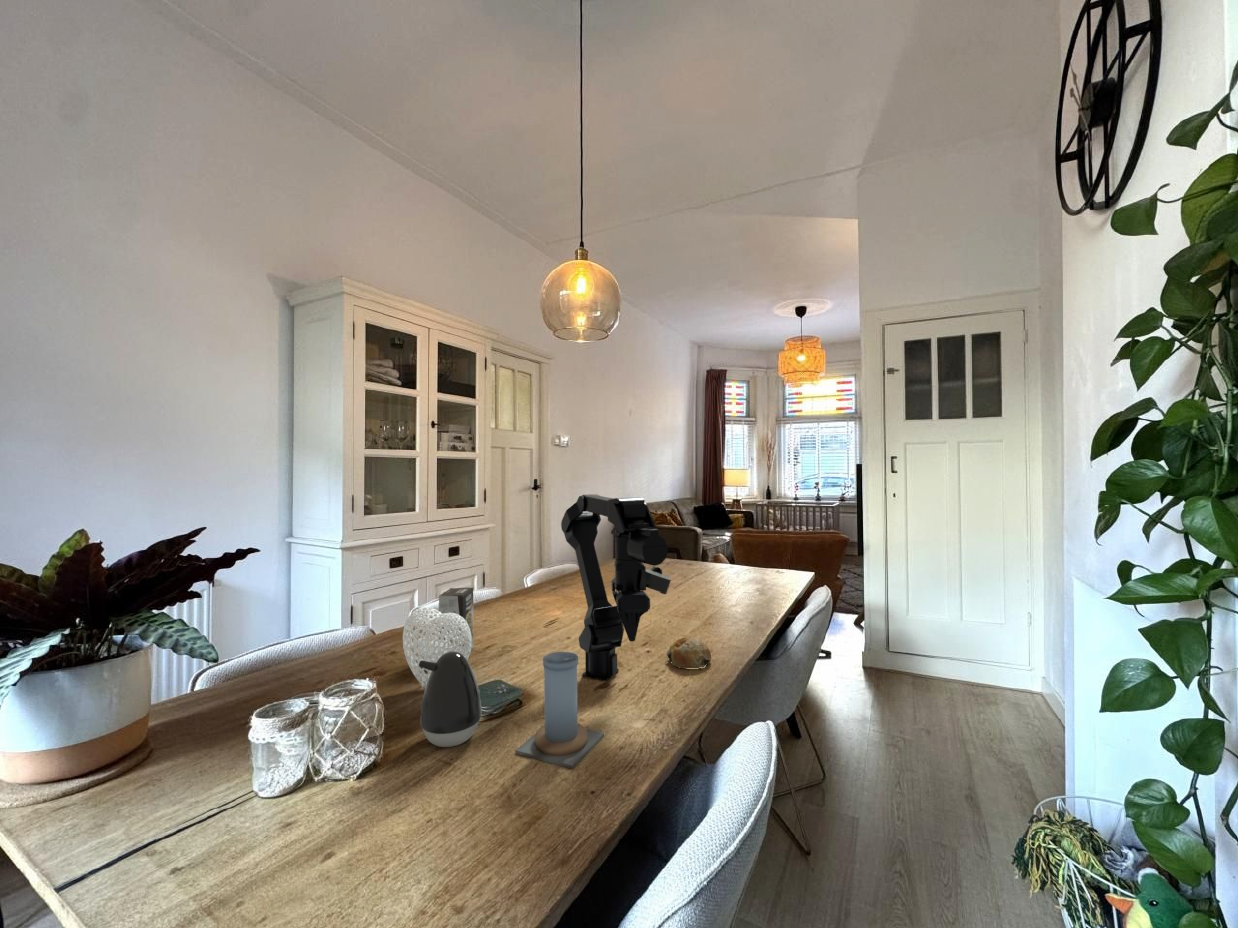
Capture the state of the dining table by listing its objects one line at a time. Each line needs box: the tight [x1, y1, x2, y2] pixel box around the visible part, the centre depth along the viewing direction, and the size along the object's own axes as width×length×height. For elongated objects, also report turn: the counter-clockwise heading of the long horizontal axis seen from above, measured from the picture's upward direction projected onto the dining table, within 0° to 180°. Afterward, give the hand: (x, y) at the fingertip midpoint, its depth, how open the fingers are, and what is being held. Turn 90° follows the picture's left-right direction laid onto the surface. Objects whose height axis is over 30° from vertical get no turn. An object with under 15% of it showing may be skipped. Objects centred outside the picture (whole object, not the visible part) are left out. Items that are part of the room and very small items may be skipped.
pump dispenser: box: [419, 651, 483, 748], centre depth 89 cm, size 10×10×15 cm
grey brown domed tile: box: [515, 723, 605, 770], centre depth 87 cm, size 11×11×2 cm
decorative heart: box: [402, 607, 472, 689], centre depth 109 cm, size 18×11×17 cm, turn 56°
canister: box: [542, 651, 579, 743], centre depth 88 cm, size 6×6×13 cm
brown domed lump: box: [666, 636, 712, 669], centre depth 124 cm, size 10×10×8 cm
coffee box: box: [438, 587, 475, 651], centre depth 132 cm, size 9×6×16 cm
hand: (629, 633), depth 106 cm, fingers open, 9 cm apart
